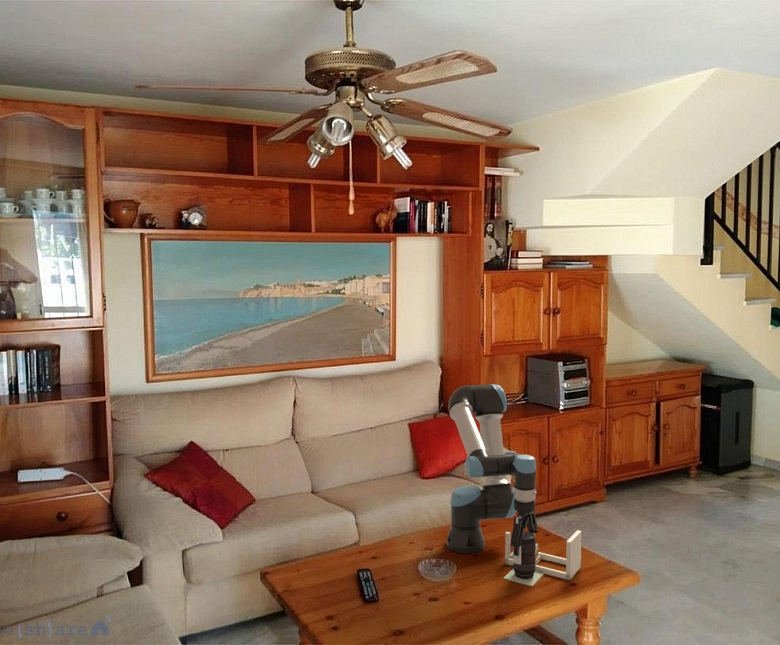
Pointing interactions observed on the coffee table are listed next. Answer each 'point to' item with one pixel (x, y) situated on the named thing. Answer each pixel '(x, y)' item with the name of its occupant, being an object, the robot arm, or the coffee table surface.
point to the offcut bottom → (538, 559)
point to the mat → (529, 582)
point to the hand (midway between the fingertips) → (524, 556)
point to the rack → (554, 557)
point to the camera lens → (526, 557)
